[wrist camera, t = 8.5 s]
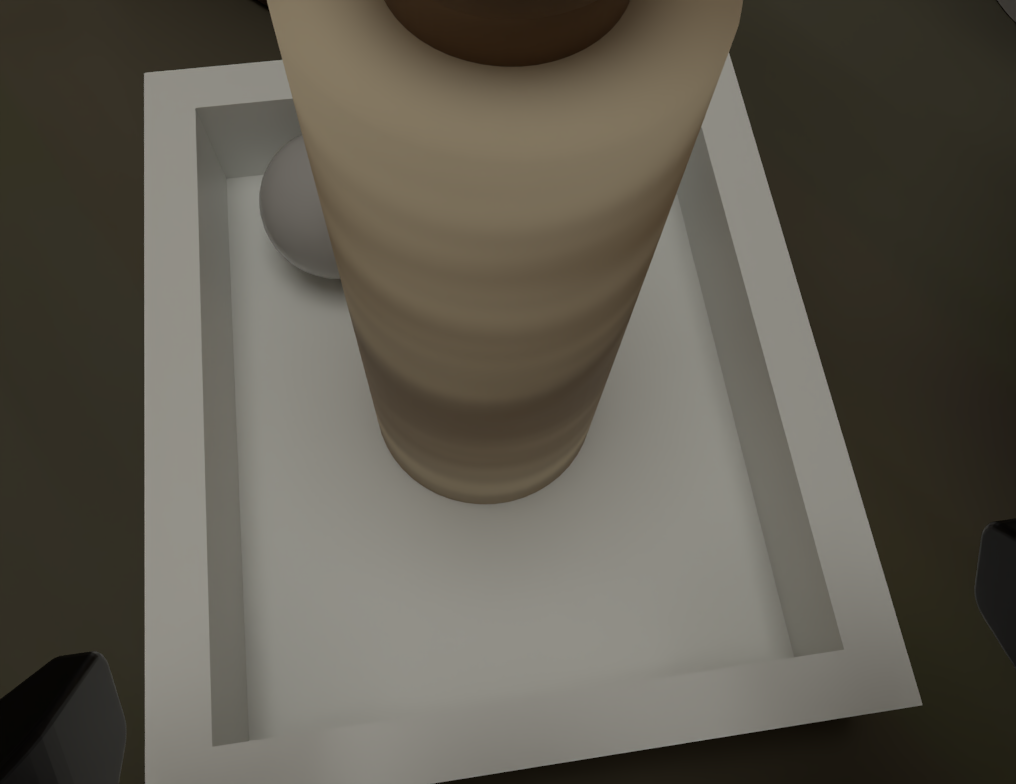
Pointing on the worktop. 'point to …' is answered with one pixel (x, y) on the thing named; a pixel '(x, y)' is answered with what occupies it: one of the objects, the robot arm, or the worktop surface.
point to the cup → (1009, 7)
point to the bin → (482, 527)
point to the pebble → (296, 212)
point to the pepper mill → (496, 206)
